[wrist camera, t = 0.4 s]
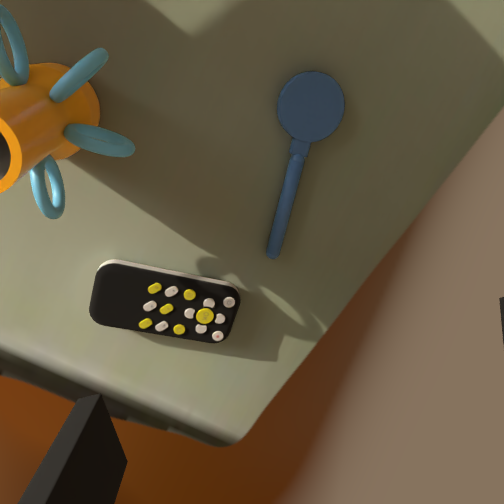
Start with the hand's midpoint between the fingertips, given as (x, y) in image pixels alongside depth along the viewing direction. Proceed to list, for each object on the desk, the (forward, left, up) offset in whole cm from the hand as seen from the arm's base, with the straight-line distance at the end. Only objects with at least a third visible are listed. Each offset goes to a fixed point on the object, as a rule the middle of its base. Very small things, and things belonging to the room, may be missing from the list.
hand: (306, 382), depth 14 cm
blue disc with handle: (-2, +5, -24) cm, 25 cm away
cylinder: (-3, -13, -25) cm, 28 cm away
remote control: (+12, -3, -25) cm, 27 cm away
